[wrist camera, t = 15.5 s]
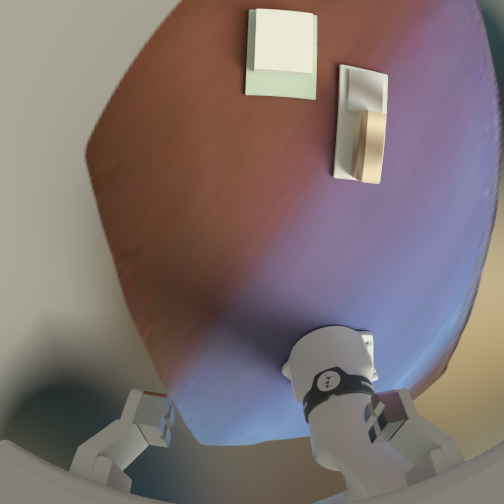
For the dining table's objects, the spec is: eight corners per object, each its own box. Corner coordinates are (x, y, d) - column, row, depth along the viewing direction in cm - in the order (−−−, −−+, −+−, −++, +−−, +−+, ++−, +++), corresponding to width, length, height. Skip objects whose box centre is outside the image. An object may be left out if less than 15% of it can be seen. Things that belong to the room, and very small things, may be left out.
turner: (374, 178, 36) (387, 185, 32) (341, 174, 36) (352, 180, 32) (381, 77, 29) (395, 73, 25) (347, 70, 29) (359, 63, 25)
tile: (312, 73, 28) (312, 13, 24) (254, 69, 28) (256, 8, 24) (308, 76, 30) (309, 19, 26) (254, 72, 30) (256, 15, 26)
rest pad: (378, 182, 36) (379, 183, 36) (332, 177, 36) (334, 177, 36) (385, 75, 30) (387, 75, 29) (339, 65, 30) (340, 64, 29)
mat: (314, 99, 32) (315, 99, 32) (245, 94, 32) (245, 94, 31) (316, 16, 26) (316, 15, 26) (249, 10, 26) (249, 9, 26)
